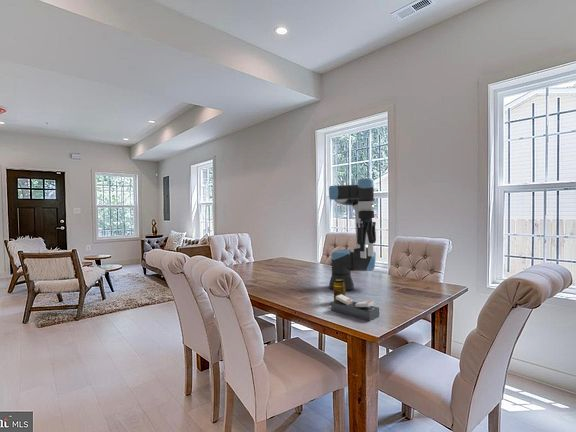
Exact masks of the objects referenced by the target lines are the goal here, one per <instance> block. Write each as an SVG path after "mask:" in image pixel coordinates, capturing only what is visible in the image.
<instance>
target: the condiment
mask: <svg viewBox="0 0 576 432" xmlns="http://www.w3.org/2000/svg"><path fill="white" fill-rule="evenodd" d="M341 294H342V295H344V296H346V291H345V283H344V280H343V279H335V280H334V290H333V301H336V300H337V299H336V296H338V295H341Z"/></svg>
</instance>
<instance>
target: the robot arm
mask: <svg viewBox="0 0 576 432" xmlns="http://www.w3.org/2000/svg"><path fill="white" fill-rule="evenodd" d="M374 186H375V185H374V179H373V178H359V179H358V180H357V184H341V185H335V184H334V185H330V186H328V197H329V200H331V201H332V200H333V201H334V202H335V203H336V204H338V205H339V204H340V205H344V206H351V207H352V209H353V210H354V216H355V218H354V219H355V222H354V224H355V225H354V226H355V247H354V248H353V251H351V250H350V249H347V248H346V249H344V248H343V249H337V250H335V251H332V252H331V259H330V260H331V276H330V279H329V283H328V284H329V285H328V288H329V289H330V290H332V291H334V280H335V279H343V280H344V283H345V292H346V291H351V290H354V289H355V283H354V280H353V278H352V273H351V272H373V271H374V270H375V267H376V260H377V259H376V258H377V257H376V256H377V255H376V254H377V253H376V251H374V244H375V243H376V241H377V233H376V223H377V222H376V221H373V218H375V210H374V209H375V201H374V200H375V199H374V198H375V197H374V195H375V194H374V188H375V187H374Z"/></svg>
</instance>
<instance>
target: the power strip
mask: <svg viewBox="0 0 576 432" xmlns="http://www.w3.org/2000/svg"><path fill="white" fill-rule="evenodd" d="M356 303H358V302H356V301H353V303H351V304H349V305H346V304H345V303H343V302H341V301H339V300H336V301H334V300H333V301H331V302H330V303H329V306H330V311H332V312H334V311H335V312H334V313H338V314H341V313H342V314H341V315H344V316H345V315H346V316H350V317H353V318H356V319H360V320H363V319H364V321H367V320H368V322H372V321H374V320H375V319H378V318H379V317H380V307H378V306H374V305H372V306H370V307H356V306H355V304H356ZM371 320H372V321H371Z"/></svg>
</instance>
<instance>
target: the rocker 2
mask: <svg viewBox="0 0 576 432" xmlns="http://www.w3.org/2000/svg"><path fill="white" fill-rule="evenodd" d="M374 305H375V303H374V301H373V300H372V301H371V300H370V301H358V302H357V303H356V304H355V306H356V307H370V306H374Z"/></svg>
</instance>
